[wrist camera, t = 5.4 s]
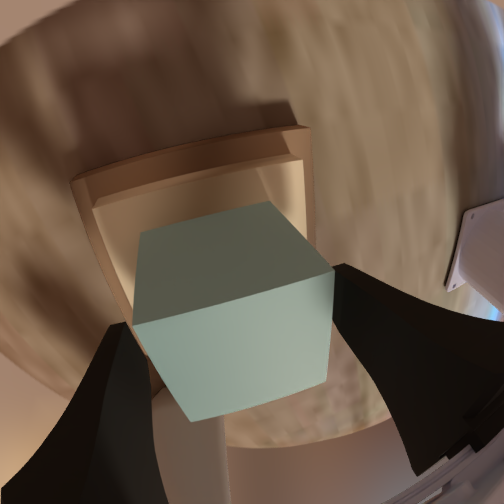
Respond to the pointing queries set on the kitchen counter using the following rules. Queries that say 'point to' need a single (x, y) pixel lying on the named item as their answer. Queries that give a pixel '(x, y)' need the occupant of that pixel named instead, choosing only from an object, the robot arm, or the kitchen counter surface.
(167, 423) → the salt shaker
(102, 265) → the wooden base
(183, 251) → the teal block
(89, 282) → the kitchen counter surface
